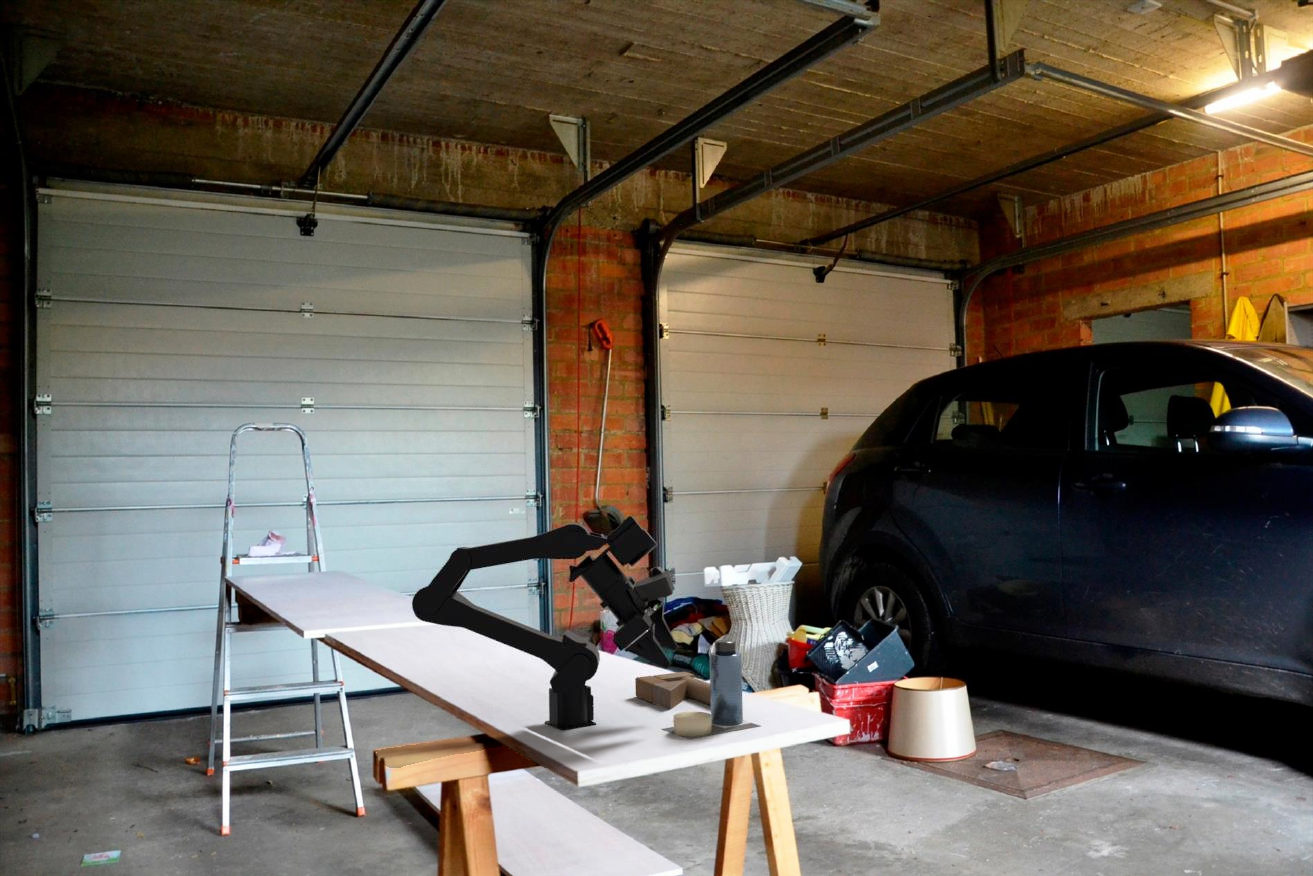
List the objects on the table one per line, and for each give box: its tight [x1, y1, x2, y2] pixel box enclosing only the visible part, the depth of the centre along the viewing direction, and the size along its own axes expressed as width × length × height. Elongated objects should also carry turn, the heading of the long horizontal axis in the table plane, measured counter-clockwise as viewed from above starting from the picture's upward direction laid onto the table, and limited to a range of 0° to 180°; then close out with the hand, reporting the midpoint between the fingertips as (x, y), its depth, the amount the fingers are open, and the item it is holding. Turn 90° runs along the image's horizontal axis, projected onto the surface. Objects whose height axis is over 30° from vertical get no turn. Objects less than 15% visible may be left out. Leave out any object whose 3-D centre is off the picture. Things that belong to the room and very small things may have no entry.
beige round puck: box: [673, 711, 712, 737], centre depth 159 cm, size 6×6×2 cm
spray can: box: [709, 639, 744, 726], centre depth 164 cm, size 5×5×13 cm
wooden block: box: [635, 671, 711, 710], centre depth 182 cm, size 4×11×18 cm
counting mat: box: [661, 719, 761, 740], centre depth 161 cm, size 14×8×1 cm, turn 123°
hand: (672, 657), depth 166 cm, fingers open, 9 cm apart
